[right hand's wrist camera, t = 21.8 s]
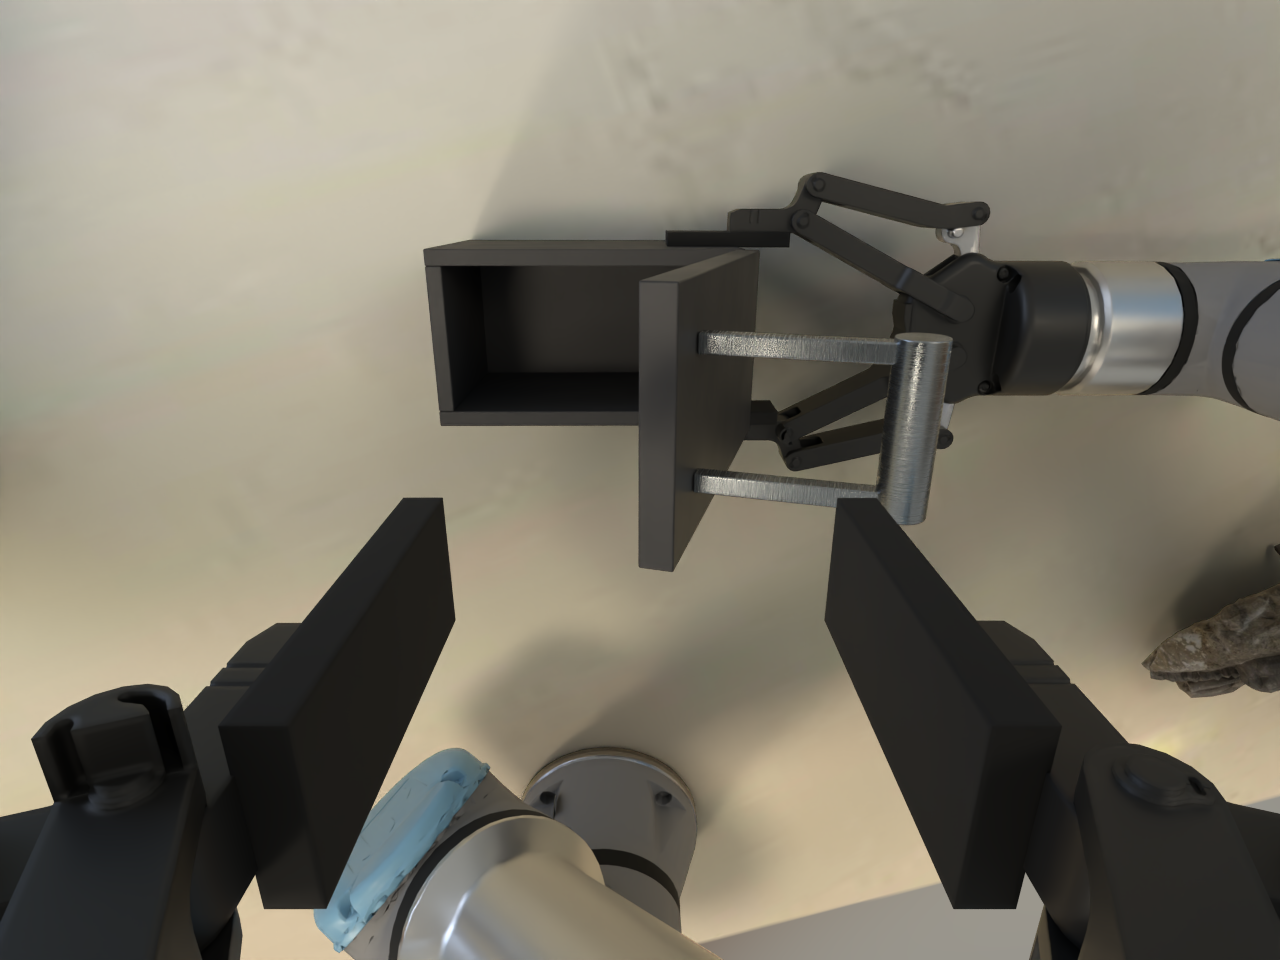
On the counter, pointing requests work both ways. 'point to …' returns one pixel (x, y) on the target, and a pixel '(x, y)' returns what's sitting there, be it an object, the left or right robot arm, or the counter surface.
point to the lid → (721, 404)
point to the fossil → (1225, 649)
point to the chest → (542, 328)
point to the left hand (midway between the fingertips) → (665, 329)
